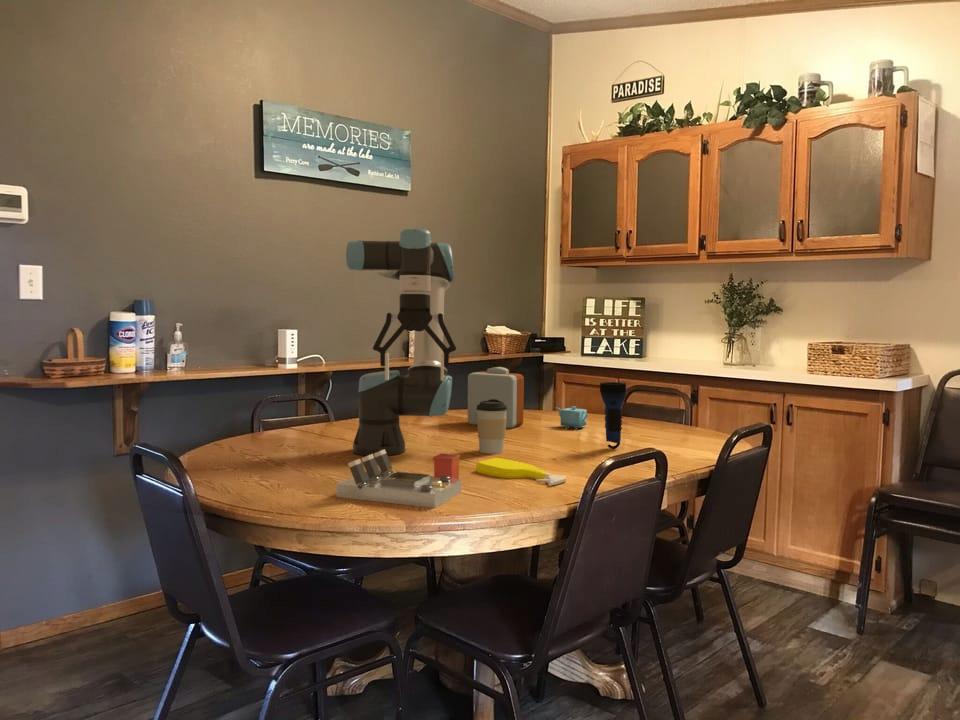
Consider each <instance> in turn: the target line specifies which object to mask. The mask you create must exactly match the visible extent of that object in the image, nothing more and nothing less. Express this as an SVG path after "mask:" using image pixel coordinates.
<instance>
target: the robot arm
mask: <svg viewBox="0 0 960 720" xmlns="http://www.w3.org/2000/svg"><path fill="white" fill-rule="evenodd" d="M345 249H346V250H345V263H346V267H347V268H348V269H349V270H350V271H351V270H352V271H370V272H371V271H372V272H374V274H376V275H378V276H380V277H384V278H387V279H392V280H396V281H399V292H401V293H400V295H399V311H398V313H391V312H388V313H386V318H385V323H384V325H383V326H382V329H381V331H380V333H379V335H378V336H377V339H376V340H375V341H374V345H373V346H372V350H373V351H376V352H378V353H379V354H380V359H379V360H380V364H379V365H380V366H381V367H384V371H377V372H371V373H365V374H364V375H362V376H360V378H359V383H358V391H357V392H358V426H357V427H358V428H357V430H356V434H355V437H354V440H353V443H352V452H353V454H356V455H360V456H368V455H371V454H373V456H374V453H376V452H379V451H381V450H384V449H385V451H386V454H387V456H394V455H395V456H396V455H400V454H402V453H405V451H406V442H405V438H404V436H403V432H402V429H401V425H400V416H403V417H404V416H405V417H412V416H413V417H414V416H415V417H430V418H432V417H440V416H441V417H443V416H444V415H446V414H447V413H448V410H449V407H450V402H451V396H452V386H453V376H451V375H448V369H447V368H446V367H449V364H450V363H449V362H450V361H449V360H450V359H449V358H450V356H449V355H450V353H452V352H455V351H456V350H457V347H456V344H455V343H454V341H453V339H452V335H450V333H449V331H448V328H447V326H446V325H445V322H444V321H445V318H444V317H445V291H447V290H448V289H449V288H450V286H451V283H452V282H454V281H455V270H454V269H455V268H454V260H453V252H452V247H451V245H450V244H449V243H445V242H444V243H443V242H437V241H435V242H432V239H431V232H430V231H429V230H428V229H423V228H405V229H402V230H401V231H400V234H399V240H361V239H360V240H350V241H348V242H347V244H346V248H345ZM396 320H398V322H399V323H400V326H399V327H398V328H397V330H395V332H394V333H393V334H392V335H391V337H390V338H389V339H388V340H387V342H386V343H385V344H384V345H382V343H383V341H384V338H385V336H386V334H387V333H388V331H389V329H390V327H391V324H392V323H394V322H395V321H396ZM404 331H407V332H414V337H413V357H412V359H413V362H412V365H410V367H408V368H407V375H401V373H400V371H399V369H398V370H395V369H394V370H390V352H387V351H388V349H390V347H391V346H392V345H393V343H395V341H396V340H397V339H398V338H399V337H400V336H401V334H402V333H403V332H404ZM444 338H445V339H446V341H447V343H448V346H449V347H447V345H445V343H444ZM381 345H382V346H381ZM374 457H375V456H374Z"/></svg>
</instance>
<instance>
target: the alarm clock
mask: <svg viewBox="0 0 960 720" xmlns="http://www.w3.org/2000/svg"><path fill="white" fill-rule="evenodd" d="M524 385H525V377H524V376H523V375H522V374H520V373H512V372H511V373H510V369H508V368H507V367H502V366H497V367H496V366H495V367H490V368H487V370H486V371H476V372H471V373H469V374H468V376H467V423H469V424H470V425H473V426H478V424H477V417H478V416H477V405H479V404H480V402H481V401H488V400H490V399H497V400H499V401H502V402H504V405H506V406H507V411H506V429H513V428H516V427H519V426H522V425H523V423H524V397H525V395H524V394H525V391H524V390H525V388H524V387H525V386H524Z"/></svg>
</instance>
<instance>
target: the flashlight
mask: <svg viewBox="0 0 960 720" xmlns="http://www.w3.org/2000/svg"><path fill="white" fill-rule="evenodd" d="M599 392H600V396H601V399H602V402H603V404H604V405H605V407H604V415H605V416H604V421H605V423H604V428H605V439H606V440H605V441H606V442H607V443H608V442H609V443H614V444H615V445H611V444H609V443H608V444H607V448H608V449H611V450H615V449H617V448H619V447H620V445H621V441H622V440H621V438H622V436H621V435H622V430H623V427H622V426H623V420H622V419H623V409H622V405H623V403H624V401H625V398H626V396H627V383H626V382H622V381H604V382H599Z"/></svg>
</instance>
